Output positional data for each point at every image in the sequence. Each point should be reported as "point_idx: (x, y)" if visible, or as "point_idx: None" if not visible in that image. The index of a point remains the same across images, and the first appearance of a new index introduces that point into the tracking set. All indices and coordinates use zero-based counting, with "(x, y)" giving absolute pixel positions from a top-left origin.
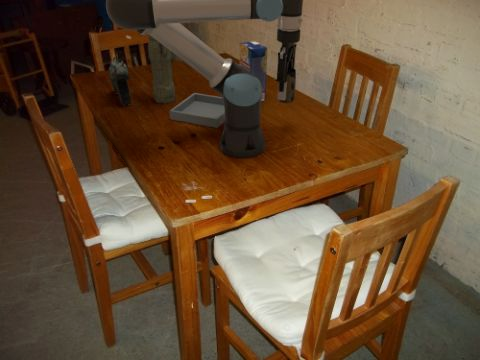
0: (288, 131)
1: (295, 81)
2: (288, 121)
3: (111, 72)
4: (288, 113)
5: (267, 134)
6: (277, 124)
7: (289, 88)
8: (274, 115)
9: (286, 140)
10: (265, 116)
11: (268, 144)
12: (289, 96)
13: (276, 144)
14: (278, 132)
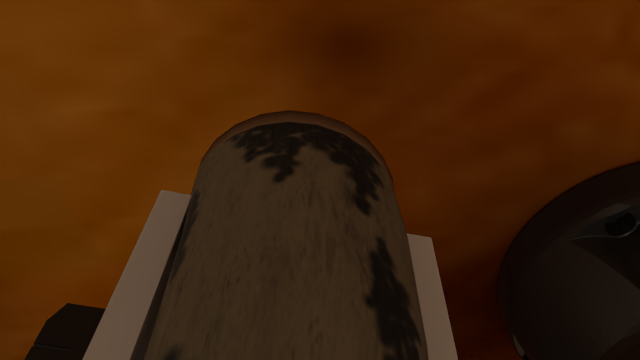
0: (378, 15)
1: (297, 345)
2: (177, 32)
3: None
4: (11, 47)
5: (449, 162)
6: (263, 113)
7: (423, 330)
8: (104, 150)
9: (551, 16)
10: (148, 205)
11: (612, 139)
12: (400, 222)
13: (617, 86)
14: (407, 92)
